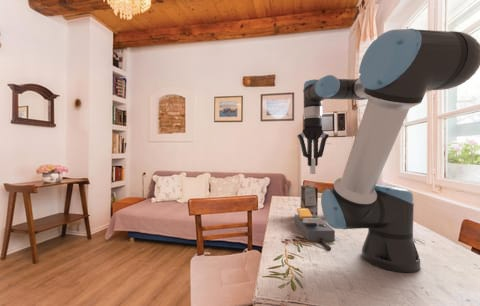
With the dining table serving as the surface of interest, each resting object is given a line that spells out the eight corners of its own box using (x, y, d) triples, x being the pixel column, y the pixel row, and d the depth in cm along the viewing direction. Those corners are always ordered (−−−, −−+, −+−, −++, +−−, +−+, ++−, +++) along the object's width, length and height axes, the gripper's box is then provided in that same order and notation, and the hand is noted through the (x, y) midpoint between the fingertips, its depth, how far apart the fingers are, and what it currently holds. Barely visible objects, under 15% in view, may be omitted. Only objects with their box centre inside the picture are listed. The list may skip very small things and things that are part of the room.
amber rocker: (312, 219, 100) (312, 216, 99) (300, 219, 100) (301, 216, 99) (307, 211, 106) (308, 208, 106) (297, 211, 106) (297, 208, 106)
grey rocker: (320, 223, 89) (320, 218, 90) (307, 222, 89) (307, 218, 90) (315, 222, 96) (314, 218, 96) (303, 222, 96) (302, 218, 96)
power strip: (344, 250, 79) (344, 236, 79) (314, 250, 79) (314, 236, 79) (315, 223, 109) (315, 213, 109) (294, 222, 109) (294, 213, 109)
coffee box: (318, 220, 112) (318, 187, 112) (304, 220, 112) (304, 187, 112) (312, 215, 121) (312, 185, 121) (300, 215, 121) (300, 185, 121)
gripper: (325, 119, 101) (324, 172, 101) (295, 119, 101) (295, 172, 101) (331, 116, 94) (331, 174, 94) (299, 116, 94) (299, 174, 94)
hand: (312, 173), depth 98 cm, fingers closed
